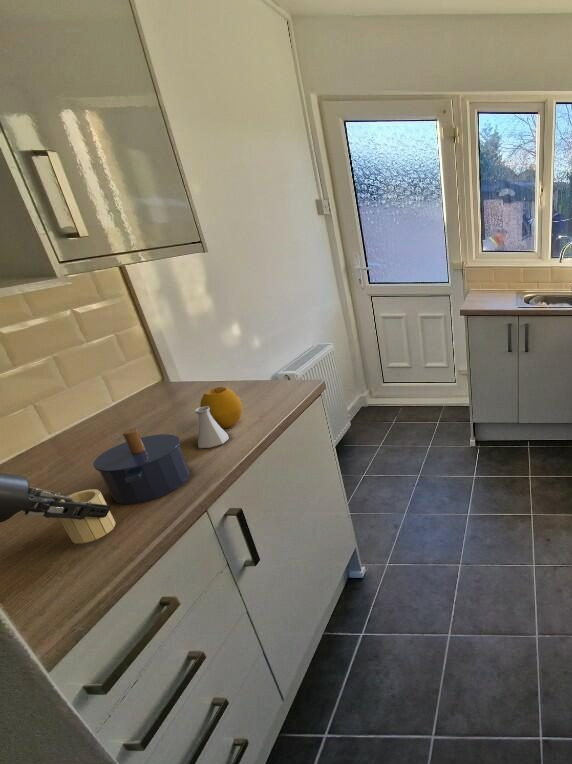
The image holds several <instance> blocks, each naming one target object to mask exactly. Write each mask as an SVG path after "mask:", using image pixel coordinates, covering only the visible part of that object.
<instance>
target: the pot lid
mask: <svg viewBox="0 0 572 764" xmlns="http://www.w3.org/2000/svg"><path fill="white" fill-rule="evenodd" d="M122 435H123V438H124V440H125V442H122V443H120V444H117V445H115V446H113V447H111V448H109V449H107V450H105V451H104V452H103V453H101V454H100V455H98V456H97V457H96V458H95V460H94V461H93V467H94V469H95V470H96V471H98V472H99V473H100V472H121V471H127V470H131V469H135V468H139V467H142V466H145V465H148V464H151V463H153V462H156V461H158V460H160V459H162V458H164V457H166V456H167V455H169V454H171V453H172V452H173V451H175V450H176V449H177V448H178V446H179V445H181V439H180V438H179V437H178V436H177V435H174V434H169V433H160V434H152V435H146V436H142V437H141V435H140V433H139V431H138V429H137V428H129V429H126V430H124V431H123V432H122Z"/></svg>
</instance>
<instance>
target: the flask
mask: <svg viewBox="0 0 572 764" xmlns="http://www.w3.org/2000/svg"><path fill="white" fill-rule="evenodd" d="M209 410H210V408H209V406H203V407H197V408H195V409H194V411H195V414H197V416H198V422H199V423H198V424H199V425H198V437H197V446H198V447H197V448H198V449H210V448H215V447H217V446H220V445H223V444H224V443H225V442H227V441H228V440H229V439H230V437H229V435H228V433H227V432H226V431H225V430H224V428H221V427H220V426H219V425H218V424H217V422H216V421H215V420H214V419H213V417H212V416H211V414H210V412H209Z"/></svg>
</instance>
